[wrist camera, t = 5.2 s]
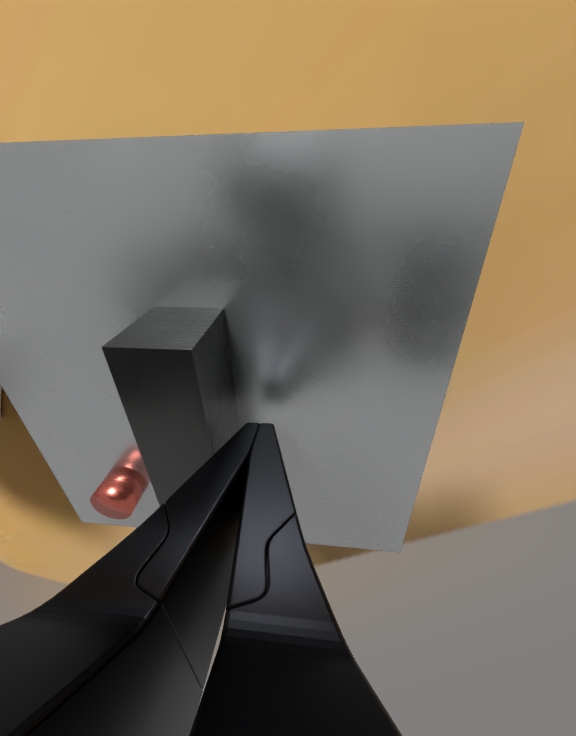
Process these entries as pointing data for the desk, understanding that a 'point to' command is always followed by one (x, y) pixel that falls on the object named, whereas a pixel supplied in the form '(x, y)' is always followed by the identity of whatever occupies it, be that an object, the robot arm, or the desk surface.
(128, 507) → the lid
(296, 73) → the desk surface
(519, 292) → the desk surface
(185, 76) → the desk surface
